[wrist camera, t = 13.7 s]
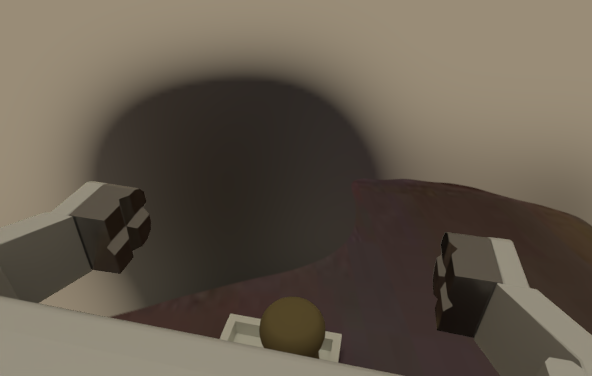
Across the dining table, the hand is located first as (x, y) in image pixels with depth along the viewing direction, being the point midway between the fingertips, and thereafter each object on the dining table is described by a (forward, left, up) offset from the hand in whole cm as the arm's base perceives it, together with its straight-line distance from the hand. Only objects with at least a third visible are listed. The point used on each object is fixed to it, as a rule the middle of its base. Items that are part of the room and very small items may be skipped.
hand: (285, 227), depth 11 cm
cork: (+2, -12, -29) cm, 32 cm away
